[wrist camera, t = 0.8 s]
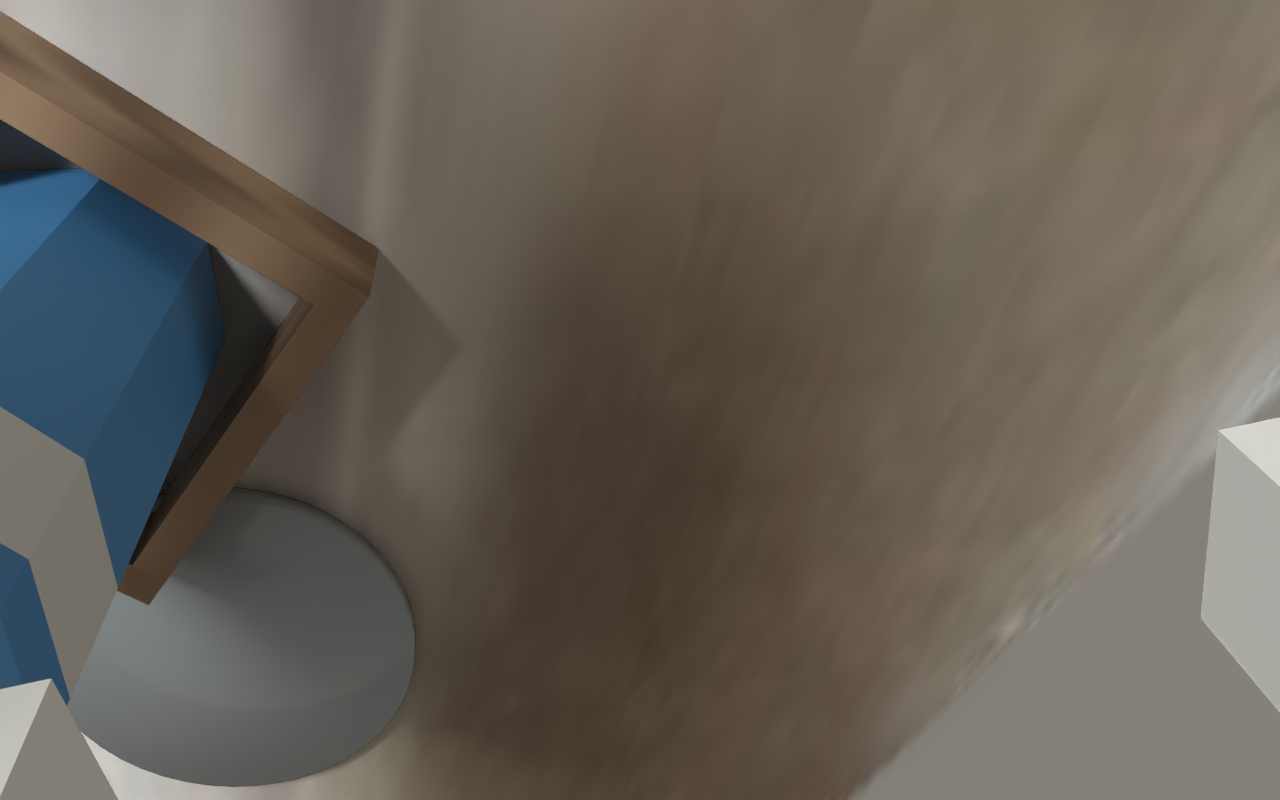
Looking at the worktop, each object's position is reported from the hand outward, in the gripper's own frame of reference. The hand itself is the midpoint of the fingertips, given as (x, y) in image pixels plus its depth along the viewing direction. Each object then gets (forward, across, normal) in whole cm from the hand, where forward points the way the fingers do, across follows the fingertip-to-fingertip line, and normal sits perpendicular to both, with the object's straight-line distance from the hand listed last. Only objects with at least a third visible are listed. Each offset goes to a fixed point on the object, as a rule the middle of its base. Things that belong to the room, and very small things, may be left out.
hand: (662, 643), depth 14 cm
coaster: (+28, -16, -20) cm, 37 cm away
